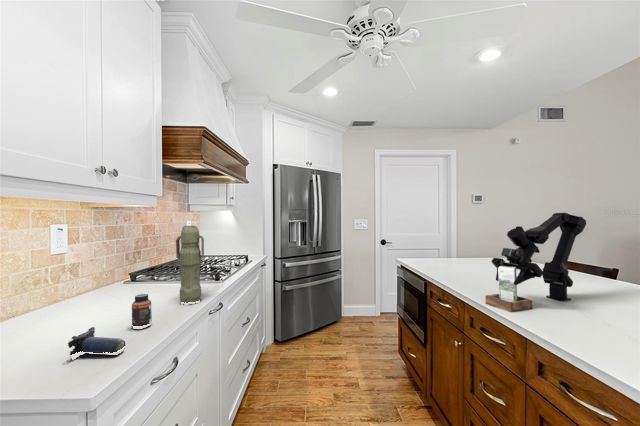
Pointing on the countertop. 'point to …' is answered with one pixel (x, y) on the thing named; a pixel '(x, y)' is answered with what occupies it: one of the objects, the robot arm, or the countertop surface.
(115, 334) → the countertop surface
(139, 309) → the supplement bottle
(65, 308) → the countertop surface
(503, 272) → the syrup box
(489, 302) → the walnut caddy
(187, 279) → the thermos
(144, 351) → the countertop surface
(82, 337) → the spiky navy capsule
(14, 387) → the countertop surface
